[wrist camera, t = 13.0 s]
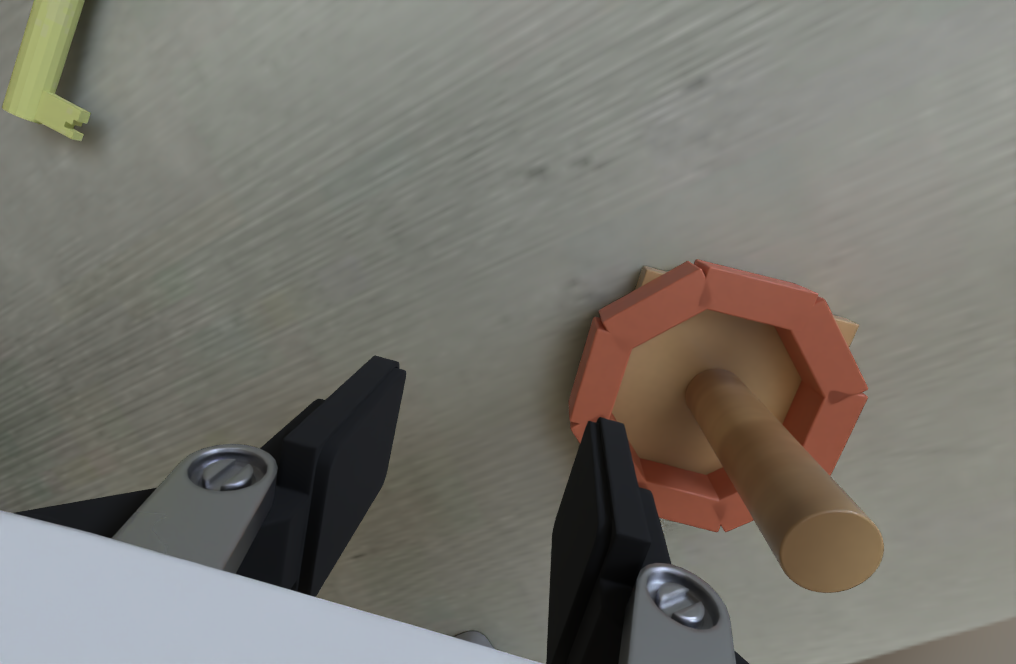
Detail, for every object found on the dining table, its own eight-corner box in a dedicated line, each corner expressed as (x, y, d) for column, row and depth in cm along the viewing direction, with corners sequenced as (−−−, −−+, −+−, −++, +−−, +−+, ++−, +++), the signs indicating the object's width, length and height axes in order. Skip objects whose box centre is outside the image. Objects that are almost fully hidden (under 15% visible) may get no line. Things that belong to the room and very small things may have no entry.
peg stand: (845, 318, 20) (1114, 443, 10) (765, 493, 22) (923, 728, 13) (642, 265, 20) (720, 340, 10) (584, 444, 22) (604, 640, 13)
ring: (876, 303, 19) (908, 316, 17) (775, 523, 21) (794, 553, 20) (615, 239, 19) (621, 244, 17) (549, 465, 22) (548, 489, 20)
